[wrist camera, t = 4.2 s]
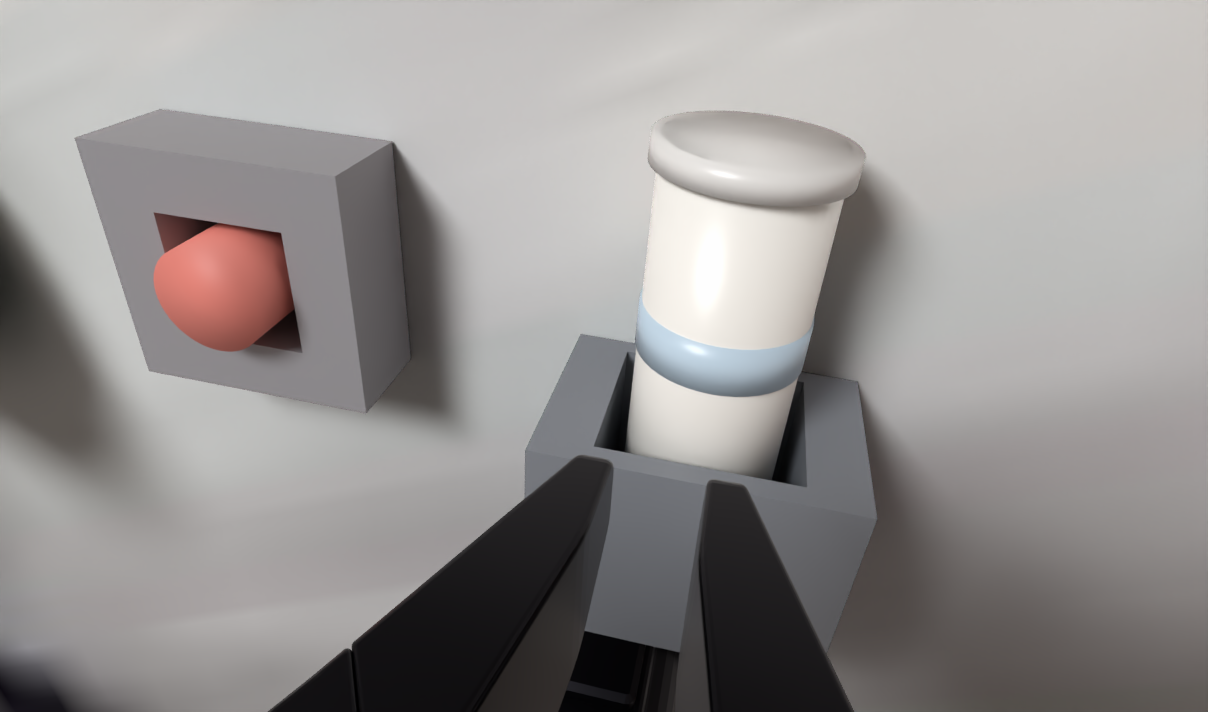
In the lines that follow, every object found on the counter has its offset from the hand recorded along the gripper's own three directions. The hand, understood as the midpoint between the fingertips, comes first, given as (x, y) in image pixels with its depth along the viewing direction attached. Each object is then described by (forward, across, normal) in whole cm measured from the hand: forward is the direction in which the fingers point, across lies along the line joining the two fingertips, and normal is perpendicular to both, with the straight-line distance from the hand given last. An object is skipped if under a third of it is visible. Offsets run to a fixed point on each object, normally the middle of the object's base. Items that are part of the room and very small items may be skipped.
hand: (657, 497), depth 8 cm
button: (+12, +13, +4) cm, 18 cm away
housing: (+12, 0, +8) cm, 15 cm away
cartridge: (+12, 0, +4) cm, 12 cm away
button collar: (+12, +13, +4) cm, 18 cm away
